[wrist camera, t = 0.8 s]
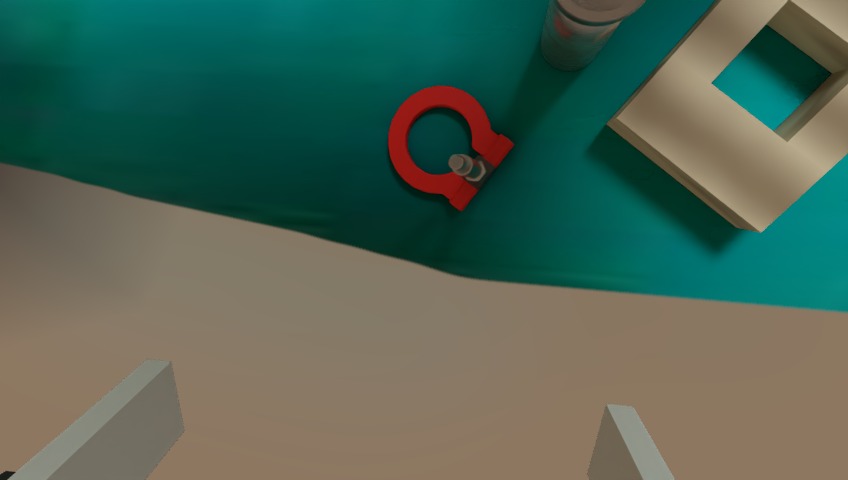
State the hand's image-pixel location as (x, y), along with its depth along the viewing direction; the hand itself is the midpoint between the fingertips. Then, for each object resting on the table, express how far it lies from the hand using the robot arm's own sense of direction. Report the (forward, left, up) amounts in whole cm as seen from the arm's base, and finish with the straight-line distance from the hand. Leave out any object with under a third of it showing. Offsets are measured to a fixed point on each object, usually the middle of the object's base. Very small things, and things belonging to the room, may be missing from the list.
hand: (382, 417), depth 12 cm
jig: (-23, +7, -22) cm, 33 cm away
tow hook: (-7, -8, -23) cm, 25 cm away
